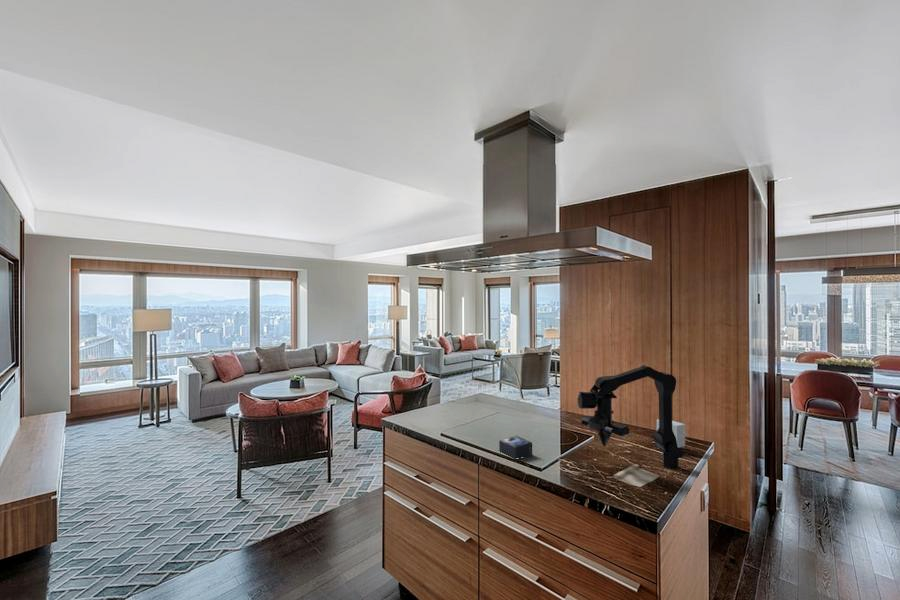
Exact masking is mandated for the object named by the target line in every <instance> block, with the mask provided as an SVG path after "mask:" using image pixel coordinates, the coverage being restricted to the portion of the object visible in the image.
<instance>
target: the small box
mask: <svg viewBox="0 0 900 600" xmlns="http://www.w3.org/2000/svg"><path fill="white" fill-rule="evenodd" d="M498 443H499V444H498V445H499V446H498V447H499V451H500V452H502V453H504V454H506V455H508V456H510V457H512V458H514V459H516V458H521V457H526V458H529V457H528V456H530V457H532V456H533V442H531V441H530V440H527V439H525V438H523V437H520V436H518V435H514V436H510V437H507V438H504V439H500V440H499V441H498Z"/></svg>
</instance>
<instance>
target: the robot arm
mask: <svg viewBox="0 0 900 600" xmlns="http://www.w3.org/2000/svg"><path fill="white" fill-rule="evenodd" d="M645 378H650V379H652V380H653V381H654V386H655V388H656V391H657V393H658V419H659V429H658V430H657V429H656V430H653V441H654V442H655V444H656V446H657V447H658V448H659V450H660V451H662V465H663V468H666V469H668V470H672V469H673V470H674V469H679V468H680V469H683V467H681V466H680V459H682V458H683V457H684V454H685V453H684V451H683V450H681V448H678V447H677V441H676V437H675V435H674V432H673V430H672V421H673V395H674V392H675V390H676V387H677V378H676V377H675V376H674V375H672V374H670V373H667V372H666V371H665V372H664V371H658V370H656V369H654V368H652V367H651V366H648V365H641V366H639V367H636V368H633V369H631V370H627V371H625V372H621V373H619V374H615V375H605V376H599V377H597V378H596V379H595V381H594V385H592V387H591V388H590V390H589V391H579V394H578V396H577V405H578V408H579V409H581V410H582V409H583V410H584V409H591V410H593V409H595V408H596V410H594V414H593V415H586V416H582V417H581V421H580V423H581V425H583V426H589V429H591V430H594V431H596V432H597V434H598V437H599V439H600V441H601V444H602V446H604V447H606V446H607V445H608V442H609V440H610V439H611V436H612V435H613V434H614V435H615V436H616V435H617V436H619V437H622V436H623V437H624V436H626V435H629V434H630V428H629V426H627V425H624V424H620V423H617V424H616V425H615V424H614V422H615V421H614V420H612V419H613V416H612V415H613V414H614V410H613V409H612V408H613V405H612V403H613V399H617V398H618V396H616V395H615V394H614V392H615V391H617V390H618V388H620V387H621V386H623V385H626V384H629V383H633V382H635V381H638V380H641V379H645Z"/></svg>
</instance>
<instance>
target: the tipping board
mask: <svg viewBox="0 0 900 600" xmlns="http://www.w3.org/2000/svg"><path fill="white" fill-rule="evenodd" d="M660 477H661V476H660V475H658V474H657V473H654V472H651V471H649V470H645V469H643V468H640V467H639V464H636V463H634V464H632V465H630V466H629V467H627V468H624V469H623V470H621V471H618V472H616V473H614V474H613V479H615V480H617V481H620V482H623V483H625V484H628V485H632V486H634V487H639V488H640V487H643V486H646V485H647V484H650V483H651V482H653V481H655V480H656V479H658V478H660Z"/></svg>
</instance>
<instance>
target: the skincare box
mask: <svg viewBox="0 0 900 600" xmlns="http://www.w3.org/2000/svg"><path fill="white" fill-rule="evenodd" d="M658 429H659V418H658V419H656V431H657V430H658ZM672 430H673V432H674V435H675V437H676V441H677V447H678V448H679V449H681V448H683V447H686V424H685V423H682V422H679V421H674V420H672Z"/></svg>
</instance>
